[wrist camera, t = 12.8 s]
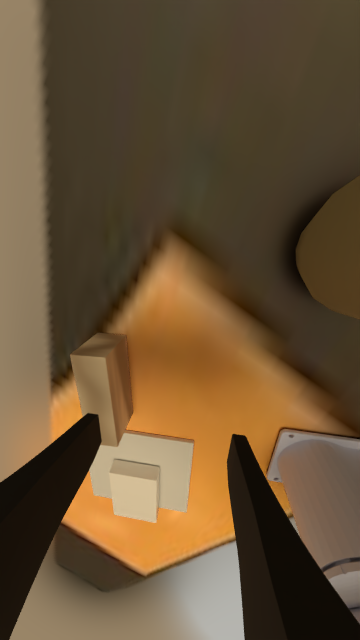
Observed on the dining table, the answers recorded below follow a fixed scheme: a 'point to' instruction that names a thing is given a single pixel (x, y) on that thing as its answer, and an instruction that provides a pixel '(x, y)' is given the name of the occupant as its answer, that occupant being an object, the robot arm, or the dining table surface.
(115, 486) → the tile
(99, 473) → the mat
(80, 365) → the wooden bar
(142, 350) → the dining table surface
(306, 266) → the squeeze bottle
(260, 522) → the robot arm
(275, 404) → the dining table surface
